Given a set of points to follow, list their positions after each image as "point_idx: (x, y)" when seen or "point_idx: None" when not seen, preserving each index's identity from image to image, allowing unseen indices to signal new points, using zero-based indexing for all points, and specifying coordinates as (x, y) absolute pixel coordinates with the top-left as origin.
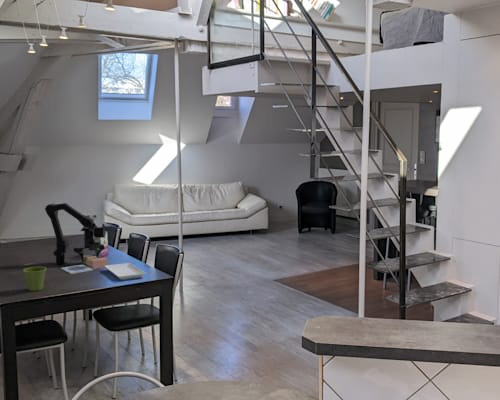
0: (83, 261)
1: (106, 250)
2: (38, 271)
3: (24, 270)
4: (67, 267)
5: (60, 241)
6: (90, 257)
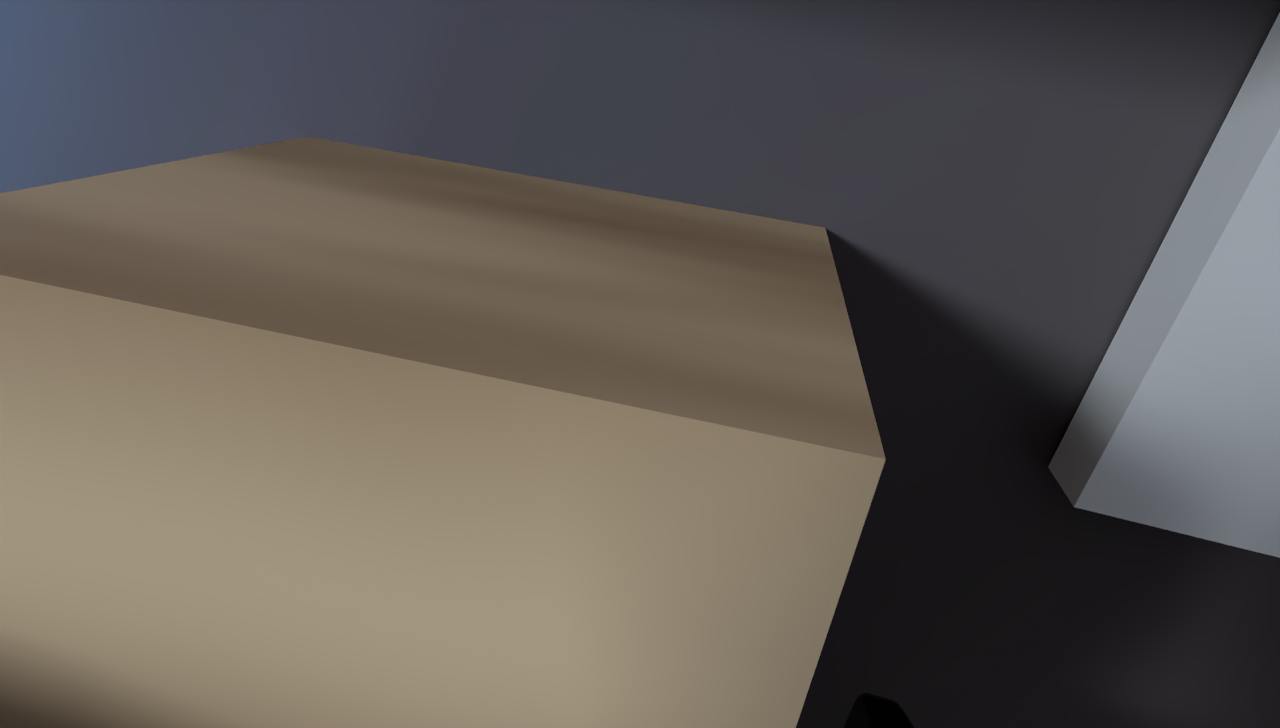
0: (876, 725)
1: None
2: None
3: None
4: None
5: None
6: (501, 584)
